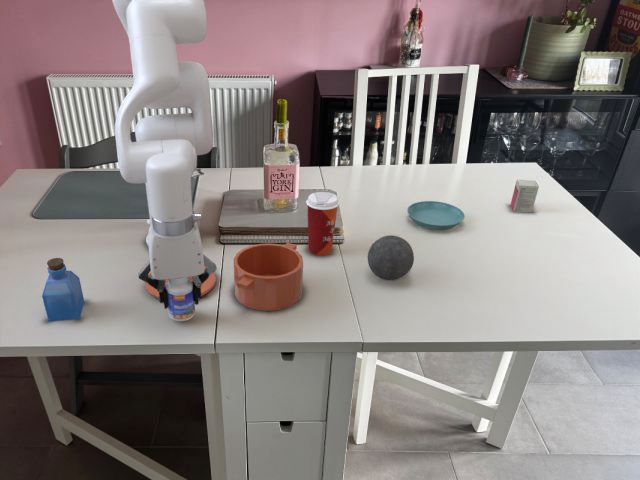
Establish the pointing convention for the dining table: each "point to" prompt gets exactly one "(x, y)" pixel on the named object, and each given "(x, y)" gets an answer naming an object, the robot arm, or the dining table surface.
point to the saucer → (435, 215)
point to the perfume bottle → (62, 293)
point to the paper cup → (321, 222)
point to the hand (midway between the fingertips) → (180, 301)
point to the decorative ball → (390, 257)
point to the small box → (524, 195)
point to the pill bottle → (180, 298)
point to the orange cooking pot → (268, 276)
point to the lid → (205, 286)
